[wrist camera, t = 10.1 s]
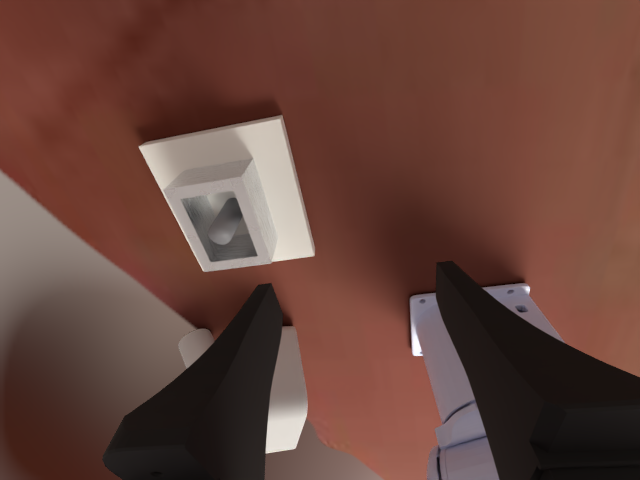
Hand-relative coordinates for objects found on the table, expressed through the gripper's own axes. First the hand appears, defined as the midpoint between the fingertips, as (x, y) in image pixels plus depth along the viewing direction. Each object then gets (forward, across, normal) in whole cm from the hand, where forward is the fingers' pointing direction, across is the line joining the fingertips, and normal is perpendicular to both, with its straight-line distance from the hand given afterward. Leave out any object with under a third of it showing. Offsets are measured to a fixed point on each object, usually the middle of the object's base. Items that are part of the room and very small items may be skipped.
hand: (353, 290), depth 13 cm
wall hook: (+10, +12, +14) cm, 21 cm away
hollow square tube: (+8, +8, -1) cm, 11 cm away
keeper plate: (+9, +8, -1) cm, 12 cm away
